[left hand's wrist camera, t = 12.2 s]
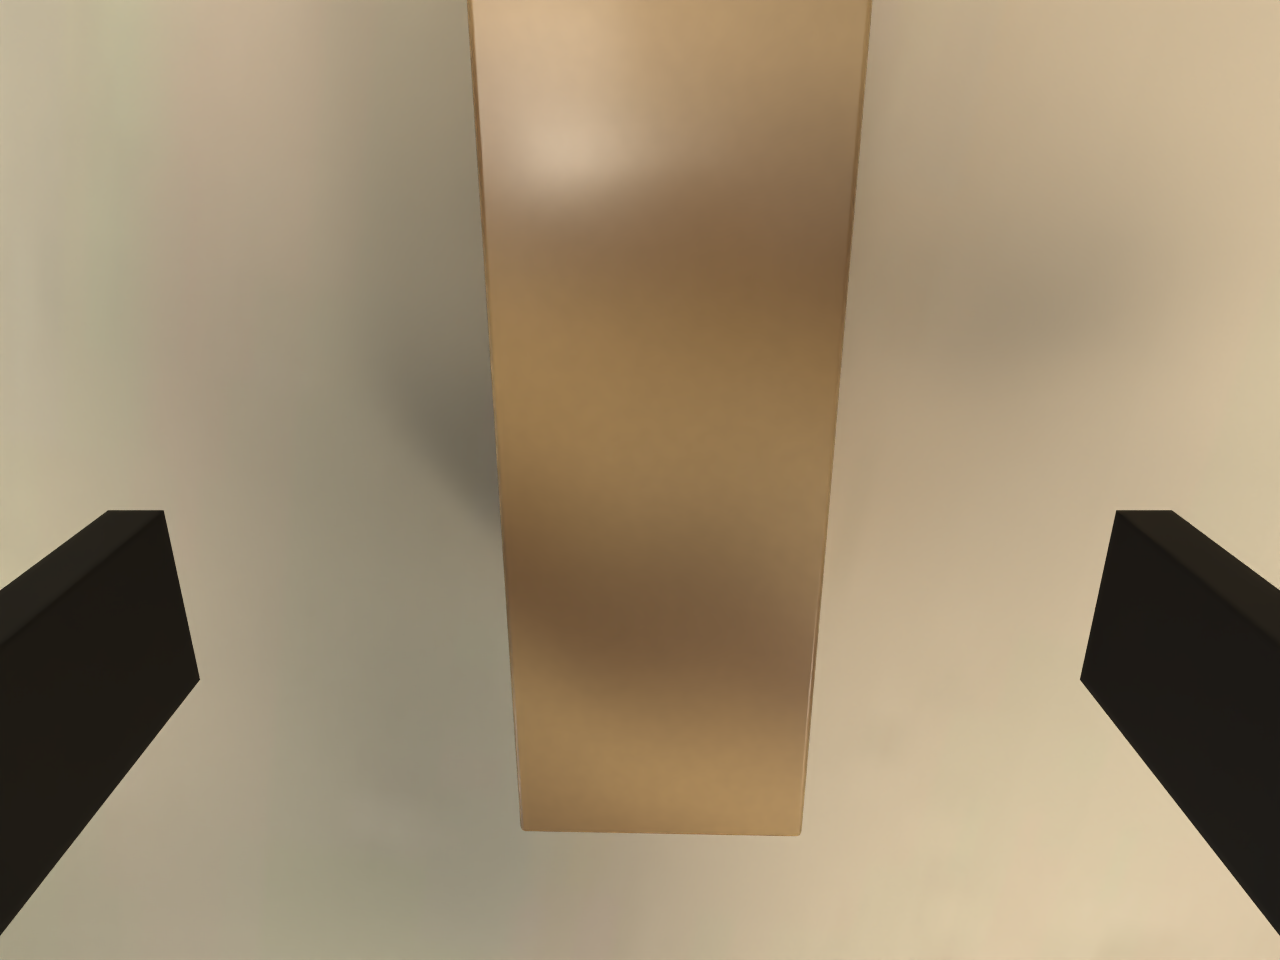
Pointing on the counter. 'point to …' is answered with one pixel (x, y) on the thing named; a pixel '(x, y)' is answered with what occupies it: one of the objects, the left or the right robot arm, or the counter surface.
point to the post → (665, 391)
